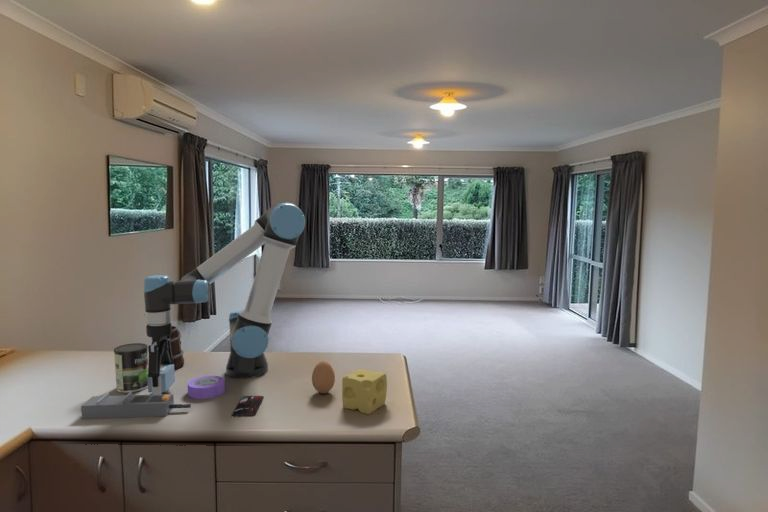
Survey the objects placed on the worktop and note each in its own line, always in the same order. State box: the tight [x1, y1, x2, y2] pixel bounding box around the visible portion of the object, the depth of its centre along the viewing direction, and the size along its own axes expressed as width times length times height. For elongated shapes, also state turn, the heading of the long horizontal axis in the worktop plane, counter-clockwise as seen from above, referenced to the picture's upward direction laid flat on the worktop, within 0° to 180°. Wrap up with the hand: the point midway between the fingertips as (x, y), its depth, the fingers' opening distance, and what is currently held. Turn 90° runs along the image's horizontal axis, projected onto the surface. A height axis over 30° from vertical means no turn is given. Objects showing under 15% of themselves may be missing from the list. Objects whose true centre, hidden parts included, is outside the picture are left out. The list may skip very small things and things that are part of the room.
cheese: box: [341, 368, 388, 415], centre depth 160 cm, size 10×11×10 cm
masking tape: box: [187, 375, 226, 400], centre depth 171 cm, size 12×12×4 cm
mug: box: [151, 325, 185, 371], centre depth 197 cm, size 16×12×15 cm
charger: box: [147, 364, 176, 393], centre depth 168 cm, size 6×9×6 cm, turn 5°
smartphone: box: [230, 395, 265, 418], centre depth 160 cm, size 7×1×15 cm
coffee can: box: [113, 342, 149, 394], centre depth 174 cm, size 10×10×14 cm
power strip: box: [80, 392, 192, 420], centre depth 155 cm, size 30×7×5 cm, turn 95°
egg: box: [311, 360, 336, 394], centre depth 170 cm, size 8×8×11 cm
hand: (162, 389), depth 169 cm, fingers closed on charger, 9 cm apart
